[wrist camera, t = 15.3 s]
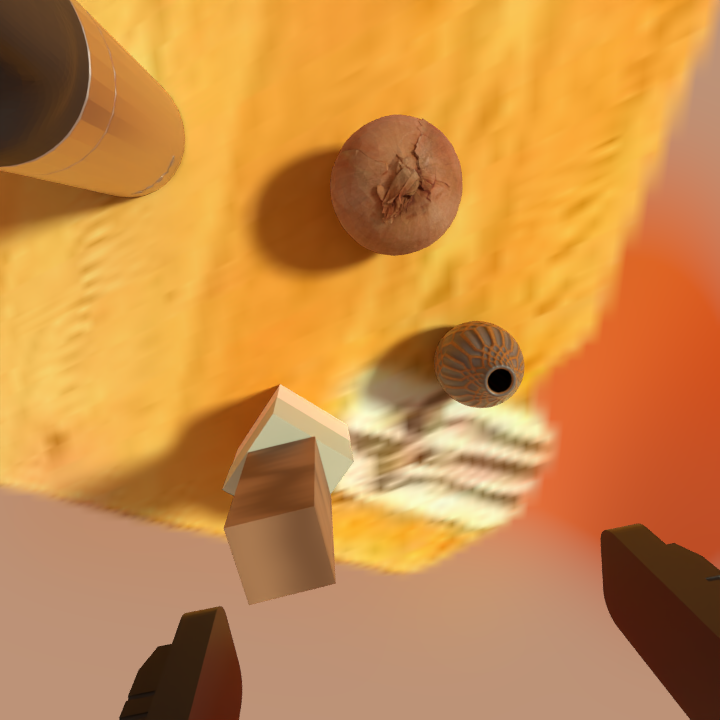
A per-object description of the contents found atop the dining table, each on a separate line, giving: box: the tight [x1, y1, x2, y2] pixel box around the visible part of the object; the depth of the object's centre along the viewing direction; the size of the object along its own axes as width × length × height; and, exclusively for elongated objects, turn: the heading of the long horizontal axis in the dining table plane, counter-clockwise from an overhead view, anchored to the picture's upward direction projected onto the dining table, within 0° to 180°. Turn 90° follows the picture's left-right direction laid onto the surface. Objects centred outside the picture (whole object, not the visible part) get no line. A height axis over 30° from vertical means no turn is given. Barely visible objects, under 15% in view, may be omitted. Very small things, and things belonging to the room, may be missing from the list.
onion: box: [330, 115, 462, 256], centre depth 37 cm, size 10×9×10 cm
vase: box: [434, 321, 524, 408], centre depth 41 cm, size 7×7×9 cm
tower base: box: [233, 384, 350, 462], centre depth 44 cm, size 7×7×4 cm
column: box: [224, 436, 336, 605], centre depth 33 cm, size 5×5×10 cm
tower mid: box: [222, 397, 354, 496], centre depth 40 cm, size 7×7×4 cm
